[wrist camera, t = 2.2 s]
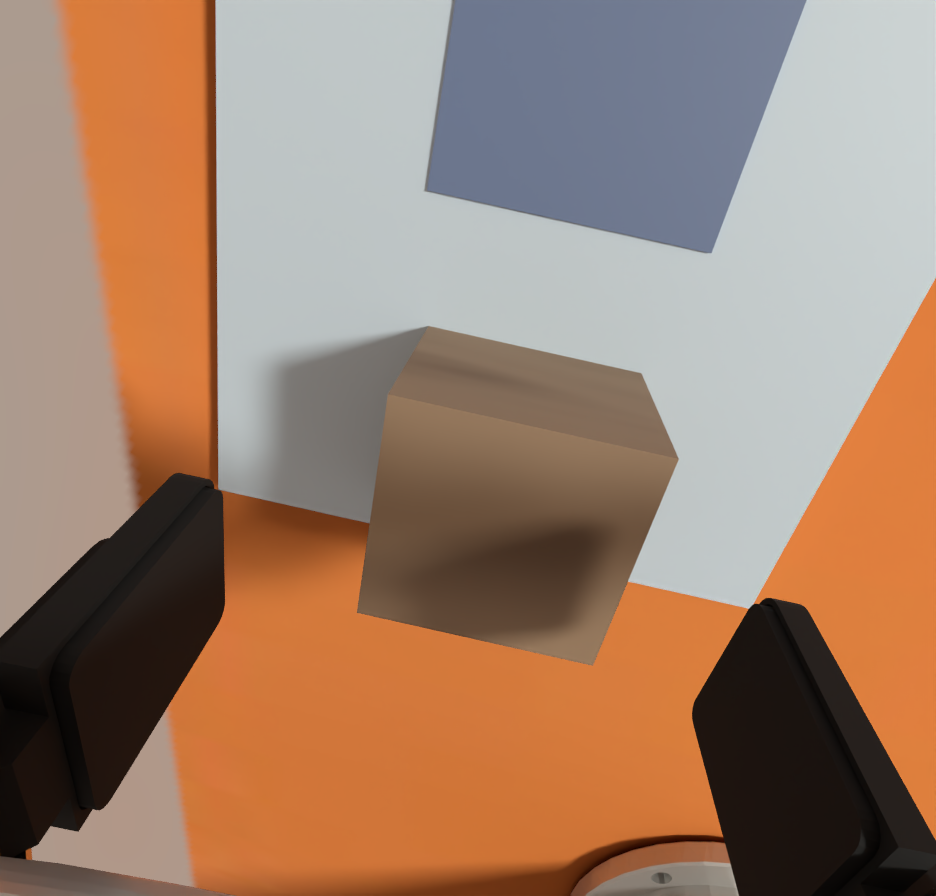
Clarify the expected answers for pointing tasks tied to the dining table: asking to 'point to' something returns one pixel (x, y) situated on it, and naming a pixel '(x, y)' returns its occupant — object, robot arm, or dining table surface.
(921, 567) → the dining table surface
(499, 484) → the walnut block
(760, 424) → the board
